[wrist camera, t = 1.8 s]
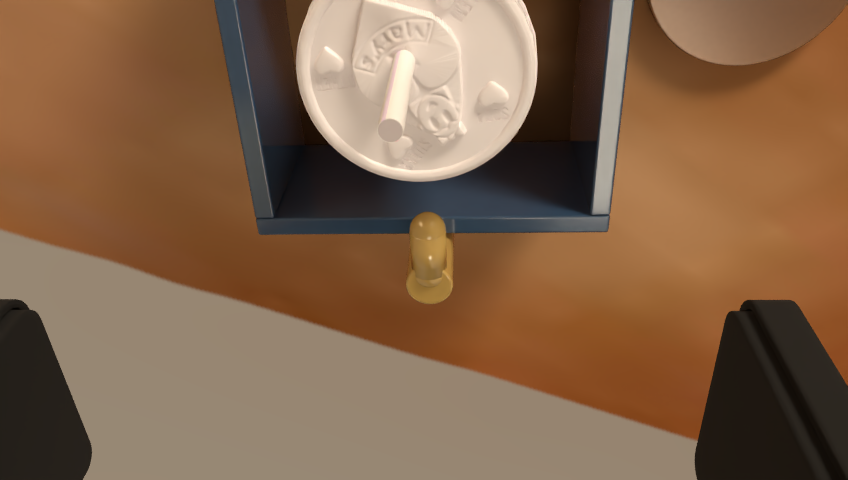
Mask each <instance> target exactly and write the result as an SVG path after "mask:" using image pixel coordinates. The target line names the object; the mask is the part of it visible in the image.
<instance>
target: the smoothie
mask: <svg viewBox="0 0 848 480" xmlns="http://www.w3.org/2000/svg"><path fill="white" fill-rule="evenodd" d="M537 66H538V61H537V47H536V34H535V31H534V28H533V26H532V23H531V20H530V17H529V14H528V12H527V9H526V6H525V4H524V2H523V1H522V0H313V1H312V3H311V4H310V6H309V9H308V12H307V16H306V18H305V20H304V23H303V26H302V29H301V32H300V35H299V40H298V45H297V54H296V72H297V81H298V86H299V90H300V94H301V97H302V100H303V103H304V105H305V108H306V110H307V112H308V114H309V116H310V118H311V120H312V122H313V123H314V125H315V126H316V128H317V129H318V131H319V132H320V133H321V135H322V136H323V137H324V138H325V140H326V141H327V142H328V143H329V144H330V145H331V146H332V147H333V148H334V149H336V150H337V151H338V152H339V153H340V154H341V155H343V156H344V157H345V158H347V159H348V160H350V161H351V162H353V163H354V164H356V165H358V166H359V167H361V168H364V169H366V170H368V171H370V172H372V173H375V174H378V175H380V176H384V177H388V178H391V179H397V180H402V181H413V182H425V181H436V180H443V179H447V178H451V177H455V176H458V175H461V174H464V173H466V172H468V171H471V170H473V169H475V168H477V167H479V166H480V165H482V164H484V163H485V162H487V161H488V160H490V159H491V158H493V157H494V156H495V155H496V154H497V153H499V152H500V151H501V150H502V149H503V148H504V147H505V146H506V145H507V144H508V143H509V142H510V141H511V139H512V138H513V137H514V136H515V134H516V133H517V132H518V130H519V128H520V127H521V125H522V124H523V122H524V120H525V118H526V116H527V114H528V112H529V109H530V107H531V104H532V101H533V97H534V94H535V88H536V83H537Z"/></svg>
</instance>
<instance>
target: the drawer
mask: <svg viewBox="0 0 848 480" xmlns="http://www.w3.org/2000/svg"><path fill="white" fill-rule="evenodd" d="M634 1H635V0H580V10H579V23H578V37H577V50H576V64H575V77H574V90H573V104H572V117H571V131H570V141H547V142H509V143H508V144H507V145H506V146H505V147H504V148H503V149H502V150H501V151H500V152H499V153H497V154H496V155H495V156H494V157H493V158H491V159H490V160H488V161H487V162H485V163H484V164H482V165H480V166H479V167H477V168H475V169H473V170H471V171H468V172H466V173H464V174H461V175H458V176H455V177H451V178H447V179H443V180H436V181H425V182H413V181H402V180H397V179H391V178H388V177H384V176H380V175H378V174H375V173H372V172H370V171H368V170H366V169H364V168H361V167H359V166H358V165H356V164H354V163H353V162H351V161H350V160H348V159H347V158H345V157H344V156H343V155H341V154H340V153H339V152H338V151H337V150H336V149H334V148H333V147H332V146H331V145H304V144H305V141H304V134H303V127H302V120H301V113H300V106H299V98H298V91H297V84H296V77H295V70H294V63H293V56H292V48H291V41H290V34H289V27H288V20H287V13H286V6H285V0H214V3H215V8H216V13H217V18H218V23H219V29H220V34H221V39H222V44H223V50H224V55H225V60H226V65H227V71H228V76H229V81H230V86H231V91H232V97H233V102H234V107H235V112H236V118H237V123H238V128H239V133H240V139H241V144H242V149H243V154H244V159H245V165H246V170H247V175H248V180H249V186H250V191H251V196H252V201H253V206H254V212H255V216H256V222H257V227H258V232H259V234H260V235H276V234H407V233H409V234H410V251H409V259H408V268H407V277H406V288H407V291H408V293H409V294H410V296H411V297H412V298H414V299H415V300H416V301H418V302H421V303H425V304H435V303H439V302H442V301H443V300H445V299H446V298H447V297H448V296H449V295H450V294H451V292H452V289H453V268H454V233H538V232H607V231H608V228H609V220H610V216H609V214H610V211H611V202H612V194H613V185H614V176H615V167H616V159H617V150H618V141H619V132H620V123H621V115H622V106H623V97H624V88H625V80H626V71H627V62H628V53H629V44H630V36H631V27H632V18H633V9H634Z"/></svg>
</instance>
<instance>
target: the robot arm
mask: <svg viewBox="0 0 848 480" xmlns="http://www.w3.org/2000/svg"><path fill="white" fill-rule="evenodd" d="M91 456H92V448H91V443H90V440H89V438H88V435H87V433H86V431H85V428H84V426H83V423H82V420H81V418H80V415H79V413H78V411H77V408H76V406H75V403H74V400H73V398H72V395H71V393H70V390H69V388H68V385H67V383H66V380H65V378H64V375H63V373H62V370H61V368H60V365H59V363H58V360H57V358H56V356H55V353H54V351H53V348H52V345H51V343H50V340H49V338H48V335H47V333H46V330H45V328H44V325H43V323H42V320H41V318H40V316H39V315H38V314H37V313H36V312H35V311H33V310H29V308H28V306H27V305H26V304H25V303H24V302H23V301H21V300H16V299H14V300H13V299H10V300H9V299H0V480H83V478H84V476H85V474H86V473H87V471H88V468H89V466H90V462H91ZM695 470H696V476H697V480H848V386H847V385H846V383H845V381H844V380H843V378H842V376H841V375H840V373H839V372H838V370H837V368H836V367H835V365H834V363H833V362H832V360H831V358H830V357H829V355H828V354H827V352H826V350H825V349H824V347H823V345H822V344H821V342H820V341H819V339H818V337H817V336H816V334H815V332H814V331H813V329H812V327H811V326H810V324H809V323H808V321H807V319H806V318H805V316H804V314H803V313H802V311H801V309H800V308H799V306H798V305H797V304H796V303H795V302H794V301H791V300H747V301H744V303H743V304H742V305H741V308H740V311H731V312H729V313H728V314H727V316H726V319H725V323H724V328H723V332H722V337H721V341H720V346H719V350H718V354H717V359H716V363H715V368H714V372H713V376H712V381H711V385H710V390H709V394H708V398H707V403H706V407H705V412H704V416H703V420H702V425H701V429H700V434H699V438H698V443H697V447H696V452H695Z"/></svg>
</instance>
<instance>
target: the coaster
mask: <svg viewBox="0 0 848 480" xmlns="http://www.w3.org/2000/svg"><path fill="white" fill-rule="evenodd" d="M648 4H649V6H650V9H651V12H652V14H653V16H654V18H655V20H656V22H657V23H658V25H659V27H660V28H661V29H662V31H663V32H664V33H665V35H666V36H667V37H668V38H669V39H670V40H671V41H672V42H673V43H674V44H675V45H676V46H677V47H678V48H680V49H681V50H683V51H684V52H686V53H687V54H689V55H691V56H693V57H695V58H697V59H699V60H703V61H706V62H709V63H713V64H719V65H728V66H741V65H752V64H757V63H762V62H766V61H769V60H772V59H775V58H778V57H781V56H783V55H785V54H788V53H790V52H792V51H794V50H796V49H797V48H799V47H801V46H803V45H804V44H806V43H807V42H809V41H810V40H811V39H813V38H814V37H816V36H817V35H818V34H819V33H821V32H822V31H823V30H824V29H825V28H826V27H827V26H829V25H830V24H831V23H832V22H833V20H834V19H835V18H836V17H837V16H838V15H839V14H840V13H841V12H842V10H843V9H844V8H845V6H846V5H847V4H848V0H648Z"/></svg>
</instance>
